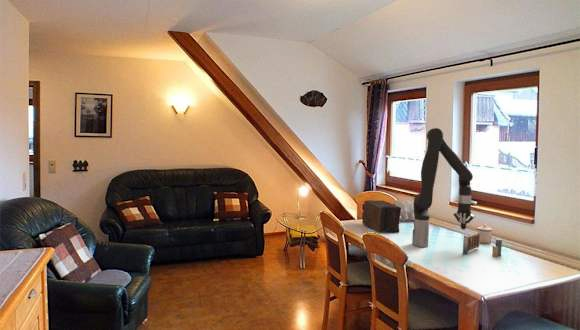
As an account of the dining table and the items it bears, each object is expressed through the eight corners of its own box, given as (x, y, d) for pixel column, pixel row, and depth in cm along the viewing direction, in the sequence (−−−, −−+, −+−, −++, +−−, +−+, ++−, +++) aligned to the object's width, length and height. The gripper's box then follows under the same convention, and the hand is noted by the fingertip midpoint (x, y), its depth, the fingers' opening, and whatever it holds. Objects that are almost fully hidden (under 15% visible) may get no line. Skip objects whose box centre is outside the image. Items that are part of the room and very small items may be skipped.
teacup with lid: (494, 243, 275) (495, 226, 274) (481, 243, 274) (482, 226, 273) (483, 238, 287) (484, 222, 286) (471, 238, 285) (472, 222, 284)
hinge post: (463, 254, 248) (464, 236, 247) (462, 253, 250) (463, 235, 249) (467, 254, 248) (468, 236, 247) (466, 253, 250) (467, 235, 249)
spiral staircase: (391, 224, 341) (419, 222, 346) (400, 219, 325) (429, 217, 330) (387, 203, 347) (415, 201, 352) (395, 197, 331) (424, 195, 336)
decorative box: (380, 224, 327) (358, 223, 321) (384, 199, 326) (362, 197, 319) (402, 235, 298) (378, 233, 292) (406, 207, 297) (382, 205, 290)
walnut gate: (467, 252, 250) (468, 237, 249) (465, 251, 251) (465, 236, 250) (478, 247, 261) (479, 233, 260) (476, 246, 262) (477, 232, 261)
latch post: (493, 256, 246) (494, 240, 245) (490, 254, 250) (491, 238, 249) (502, 256, 245) (503, 240, 245) (499, 254, 250) (500, 239, 249)
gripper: (451, 201, 262) (450, 228, 263) (472, 204, 252) (471, 232, 254) (456, 200, 267) (455, 226, 268) (477, 202, 257) (476, 230, 259)
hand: (463, 229), depth 261 cm, fingers closed
